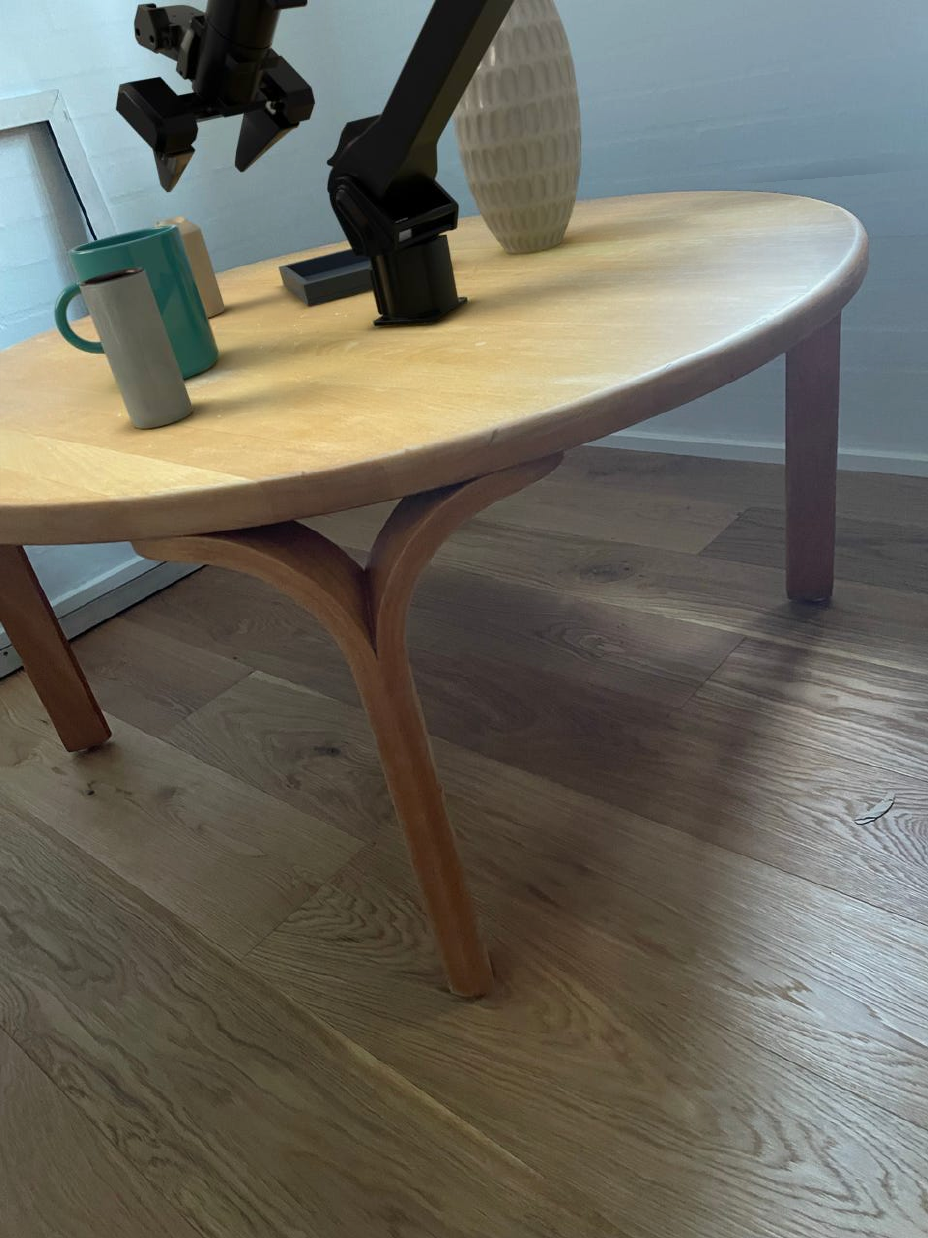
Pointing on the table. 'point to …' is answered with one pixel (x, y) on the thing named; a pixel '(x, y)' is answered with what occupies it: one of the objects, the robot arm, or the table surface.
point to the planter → (137, 347)
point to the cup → (169, 284)
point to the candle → (199, 264)
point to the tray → (327, 277)
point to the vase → (523, 130)
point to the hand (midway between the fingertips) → (203, 178)
